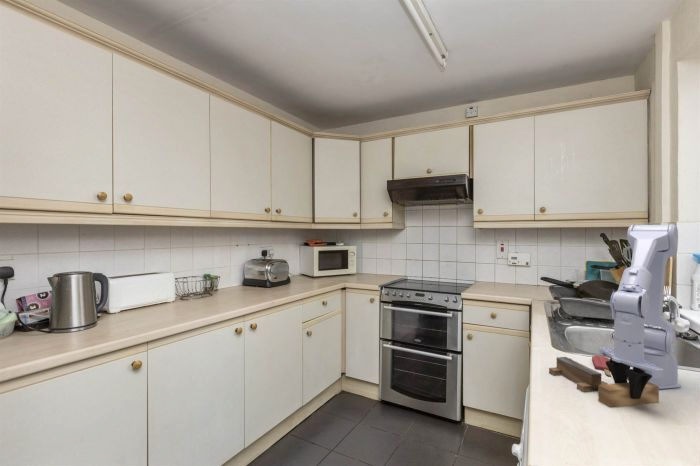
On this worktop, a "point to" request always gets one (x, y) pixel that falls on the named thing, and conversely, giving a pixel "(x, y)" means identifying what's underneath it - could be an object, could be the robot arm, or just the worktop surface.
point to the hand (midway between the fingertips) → (628, 394)
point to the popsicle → (601, 364)
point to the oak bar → (626, 394)
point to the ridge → (578, 374)
